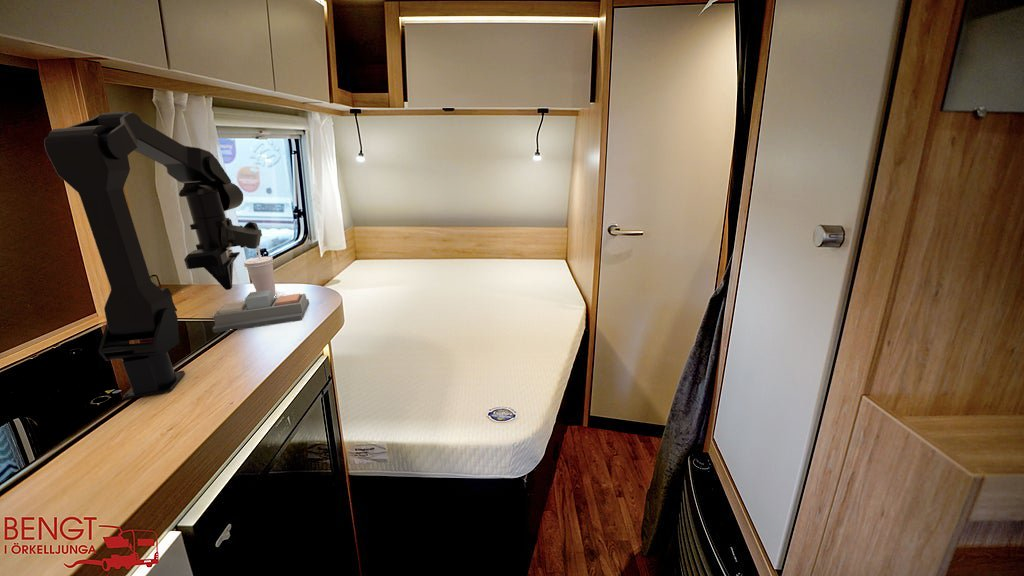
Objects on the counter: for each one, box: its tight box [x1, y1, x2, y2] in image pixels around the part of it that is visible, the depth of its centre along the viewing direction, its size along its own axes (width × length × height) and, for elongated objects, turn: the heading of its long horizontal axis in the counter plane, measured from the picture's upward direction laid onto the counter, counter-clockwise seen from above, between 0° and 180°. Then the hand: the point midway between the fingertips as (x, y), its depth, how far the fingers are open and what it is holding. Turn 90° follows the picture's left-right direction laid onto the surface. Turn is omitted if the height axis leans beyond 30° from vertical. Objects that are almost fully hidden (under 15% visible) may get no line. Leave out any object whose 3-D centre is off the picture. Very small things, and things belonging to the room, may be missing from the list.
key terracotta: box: [275, 293, 301, 306], centre depth 103 cm, size 4×4×2 cm
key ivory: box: [218, 300, 247, 314], centre depth 101 cm, size 4×4×2 cm
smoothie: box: [243, 245, 277, 296], centre depth 114 cm, size 6×6×14 cm
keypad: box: [212, 293, 310, 334], centre depth 102 cm, size 11×17×3 cm, turn 105°
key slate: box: [244, 290, 275, 310], centre depth 101 cm, size 4×4×2 cm
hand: (229, 289), depth 99 cm, fingers closed
